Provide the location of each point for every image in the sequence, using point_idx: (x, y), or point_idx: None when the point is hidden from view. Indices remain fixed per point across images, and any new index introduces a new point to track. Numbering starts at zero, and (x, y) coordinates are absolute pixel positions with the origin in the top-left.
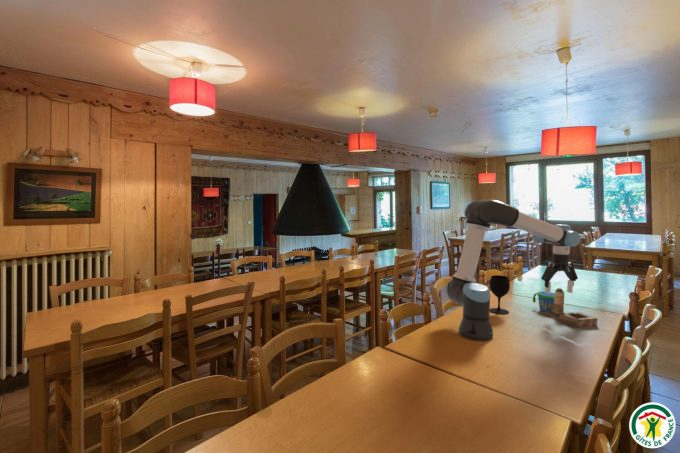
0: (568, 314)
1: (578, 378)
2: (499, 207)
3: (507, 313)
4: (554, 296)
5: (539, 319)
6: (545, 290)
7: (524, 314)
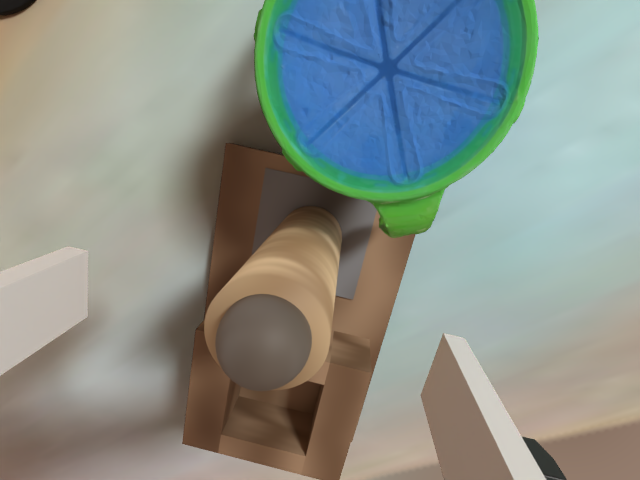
0: None
1: None
2: None
3: (10, 12)
4: (245, 263)
5: (155, 205)
6: (39, 262)
7: (134, 79)
